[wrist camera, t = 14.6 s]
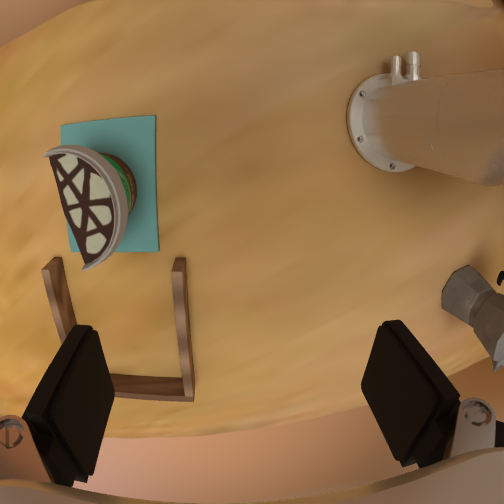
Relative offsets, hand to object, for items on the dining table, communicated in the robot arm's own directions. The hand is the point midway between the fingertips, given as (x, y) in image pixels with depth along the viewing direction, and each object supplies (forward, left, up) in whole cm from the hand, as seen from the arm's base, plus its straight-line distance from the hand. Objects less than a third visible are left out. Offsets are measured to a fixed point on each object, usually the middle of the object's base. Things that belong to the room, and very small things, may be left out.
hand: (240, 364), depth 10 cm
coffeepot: (+13, +39, -28) cm, 50 cm away
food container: (-1, -12, -28) cm, 30 cm away
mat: (-1, -14, -28) cm, 32 cm away
